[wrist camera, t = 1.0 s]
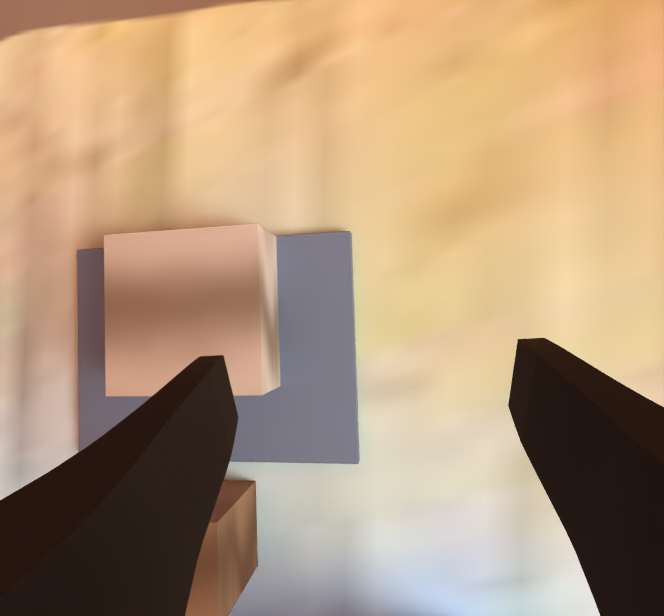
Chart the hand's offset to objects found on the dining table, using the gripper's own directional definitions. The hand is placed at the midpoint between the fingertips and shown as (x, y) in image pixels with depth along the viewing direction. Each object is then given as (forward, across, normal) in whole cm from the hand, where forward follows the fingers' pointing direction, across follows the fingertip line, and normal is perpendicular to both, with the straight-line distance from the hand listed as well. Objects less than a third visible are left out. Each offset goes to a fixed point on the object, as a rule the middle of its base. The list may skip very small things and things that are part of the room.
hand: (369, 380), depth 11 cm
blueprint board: (+11, +8, +6) cm, 15 cm away
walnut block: (+7, +9, +14) cm, 18 cm away
